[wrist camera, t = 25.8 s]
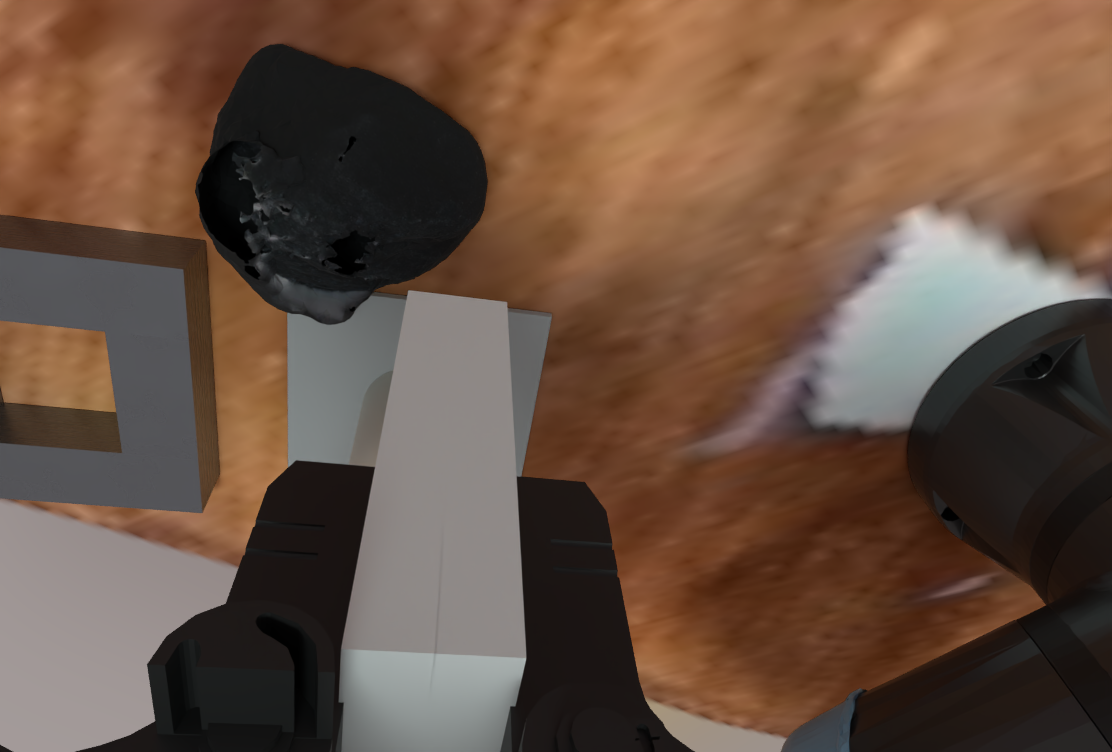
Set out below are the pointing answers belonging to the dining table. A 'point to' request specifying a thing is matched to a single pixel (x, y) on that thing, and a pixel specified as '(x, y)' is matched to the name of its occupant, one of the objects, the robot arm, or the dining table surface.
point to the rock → (334, 183)
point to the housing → (114, 367)
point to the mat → (366, 354)
